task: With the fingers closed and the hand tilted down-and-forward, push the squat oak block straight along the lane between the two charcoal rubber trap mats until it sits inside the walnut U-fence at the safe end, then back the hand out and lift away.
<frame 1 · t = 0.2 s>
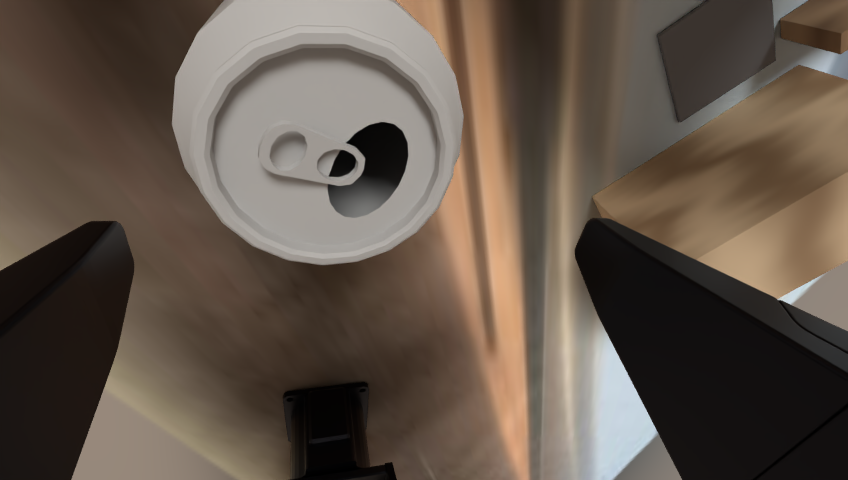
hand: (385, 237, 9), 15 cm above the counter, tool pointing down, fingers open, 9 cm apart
can: (316, 45, 20), on the counter
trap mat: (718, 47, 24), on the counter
oak block: (698, 175, 30), on the counter
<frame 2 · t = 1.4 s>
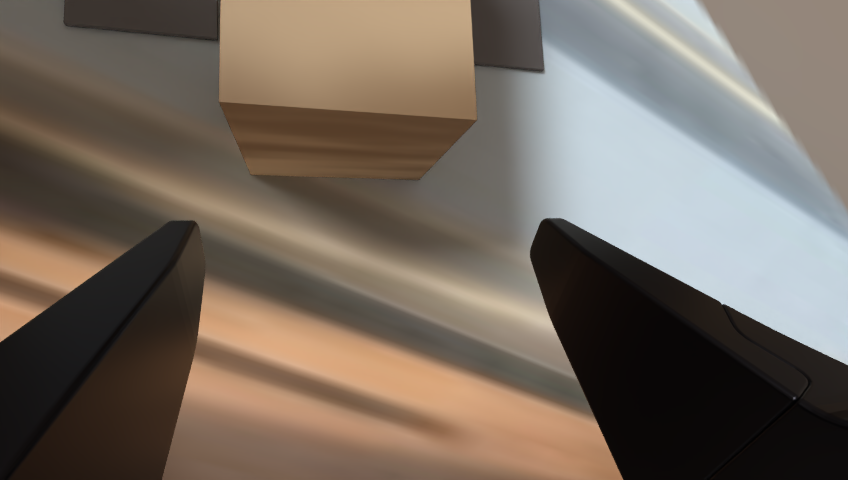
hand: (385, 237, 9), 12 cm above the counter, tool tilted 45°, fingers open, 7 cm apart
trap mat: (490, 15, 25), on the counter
oak block: (336, 43, 22), on the counter
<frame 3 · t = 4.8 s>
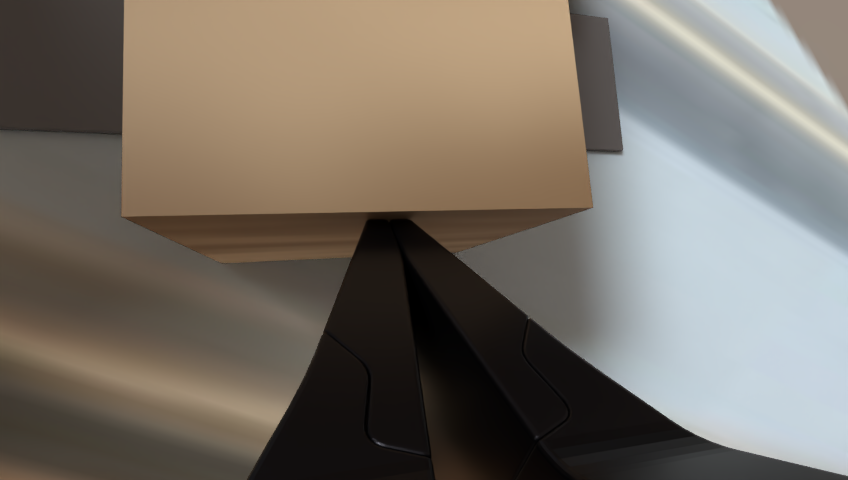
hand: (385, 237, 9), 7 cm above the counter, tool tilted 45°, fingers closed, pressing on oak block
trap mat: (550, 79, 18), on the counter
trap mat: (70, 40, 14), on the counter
oak block: (338, 66, 16), on the counter, touching gripper
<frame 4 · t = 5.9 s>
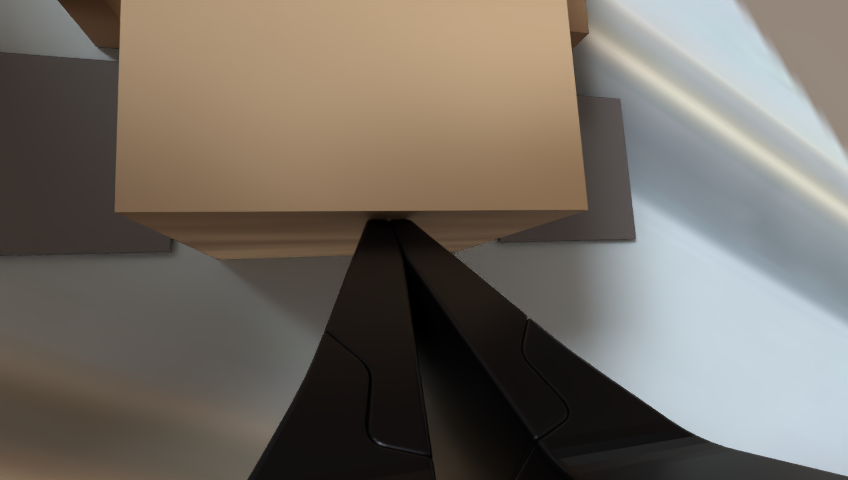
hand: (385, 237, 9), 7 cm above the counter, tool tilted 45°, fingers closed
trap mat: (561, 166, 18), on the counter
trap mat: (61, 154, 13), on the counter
oak block: (338, 65, 16), on the counter
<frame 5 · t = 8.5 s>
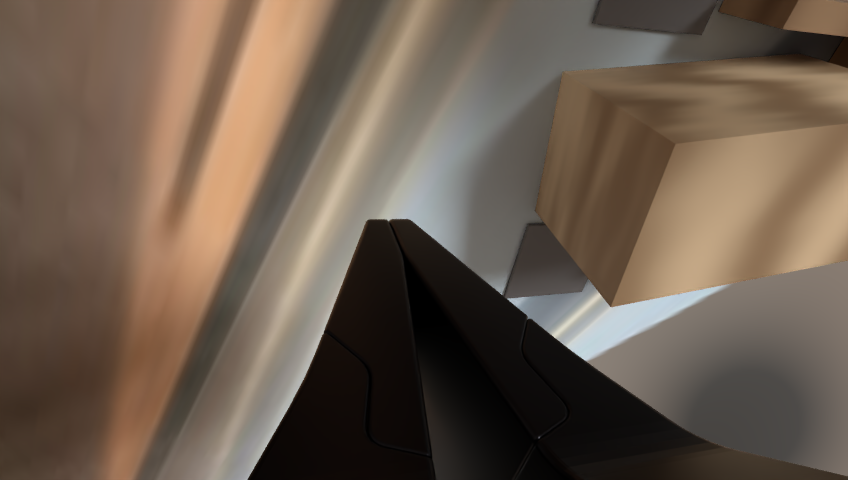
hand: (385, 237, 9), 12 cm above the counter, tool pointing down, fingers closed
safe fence: (726, 140, 26), on the counter
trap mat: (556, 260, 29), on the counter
oak block: (659, 134, 25), on the counter
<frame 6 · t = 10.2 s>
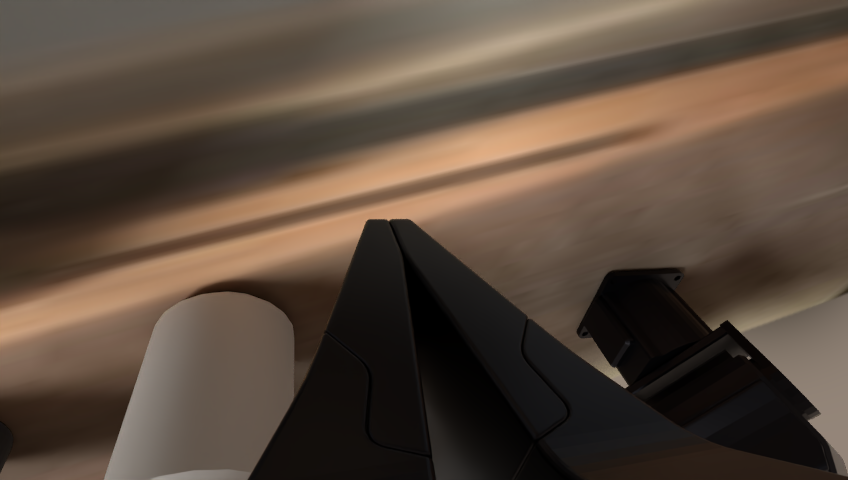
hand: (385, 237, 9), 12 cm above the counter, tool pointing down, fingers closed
can: (229, 324, 26), on the counter
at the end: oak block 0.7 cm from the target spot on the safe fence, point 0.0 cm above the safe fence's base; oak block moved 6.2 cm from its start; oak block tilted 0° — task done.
